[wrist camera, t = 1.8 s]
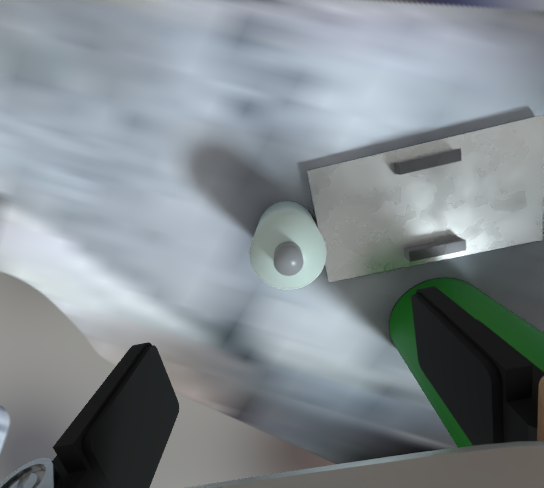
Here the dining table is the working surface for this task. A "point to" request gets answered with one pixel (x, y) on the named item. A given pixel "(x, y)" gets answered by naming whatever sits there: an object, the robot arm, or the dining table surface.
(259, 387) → the dining table surface
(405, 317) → the motor
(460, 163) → the clip bracket
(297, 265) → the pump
